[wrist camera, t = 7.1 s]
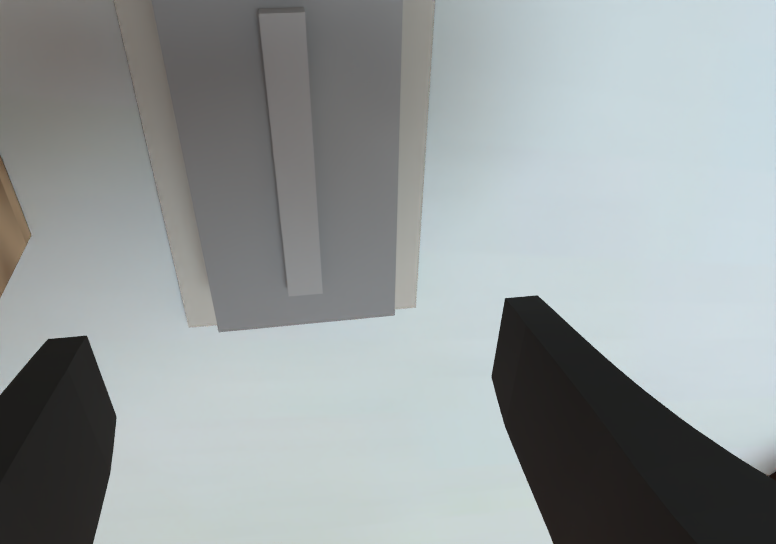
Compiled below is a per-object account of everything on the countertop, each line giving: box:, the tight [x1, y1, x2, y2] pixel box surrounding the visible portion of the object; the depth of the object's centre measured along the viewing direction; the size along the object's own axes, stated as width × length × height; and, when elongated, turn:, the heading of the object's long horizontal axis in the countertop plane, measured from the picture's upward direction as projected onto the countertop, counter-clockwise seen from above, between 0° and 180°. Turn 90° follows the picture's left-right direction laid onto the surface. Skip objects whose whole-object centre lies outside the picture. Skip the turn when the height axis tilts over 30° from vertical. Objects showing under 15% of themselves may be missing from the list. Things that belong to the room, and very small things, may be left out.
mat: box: [114, 0, 435, 328], centre depth 18 cm, size 14×8×1 cm, turn 179°
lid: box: [151, 0, 403, 332], centre depth 17 cm, size 11×6×2 cm, turn 179°
